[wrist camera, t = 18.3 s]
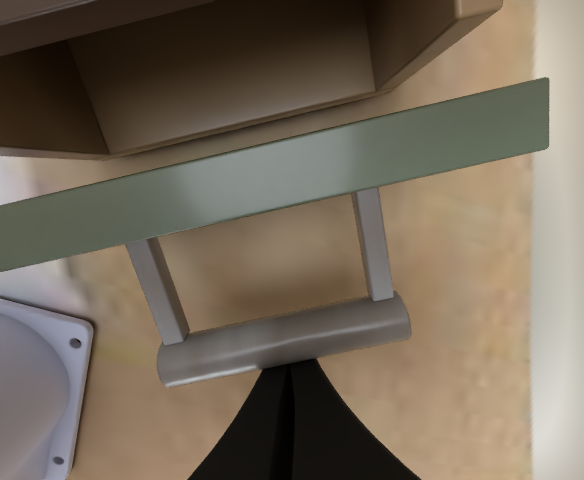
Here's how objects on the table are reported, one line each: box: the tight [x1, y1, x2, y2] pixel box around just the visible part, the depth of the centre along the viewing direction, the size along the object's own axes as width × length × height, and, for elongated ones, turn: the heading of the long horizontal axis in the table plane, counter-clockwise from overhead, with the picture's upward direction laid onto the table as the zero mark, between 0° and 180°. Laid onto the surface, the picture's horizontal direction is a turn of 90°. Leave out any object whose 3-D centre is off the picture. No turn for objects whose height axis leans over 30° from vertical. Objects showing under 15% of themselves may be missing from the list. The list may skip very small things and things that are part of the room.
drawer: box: [0, 0, 549, 388], centre depth 7 cm, size 17×12×6 cm
